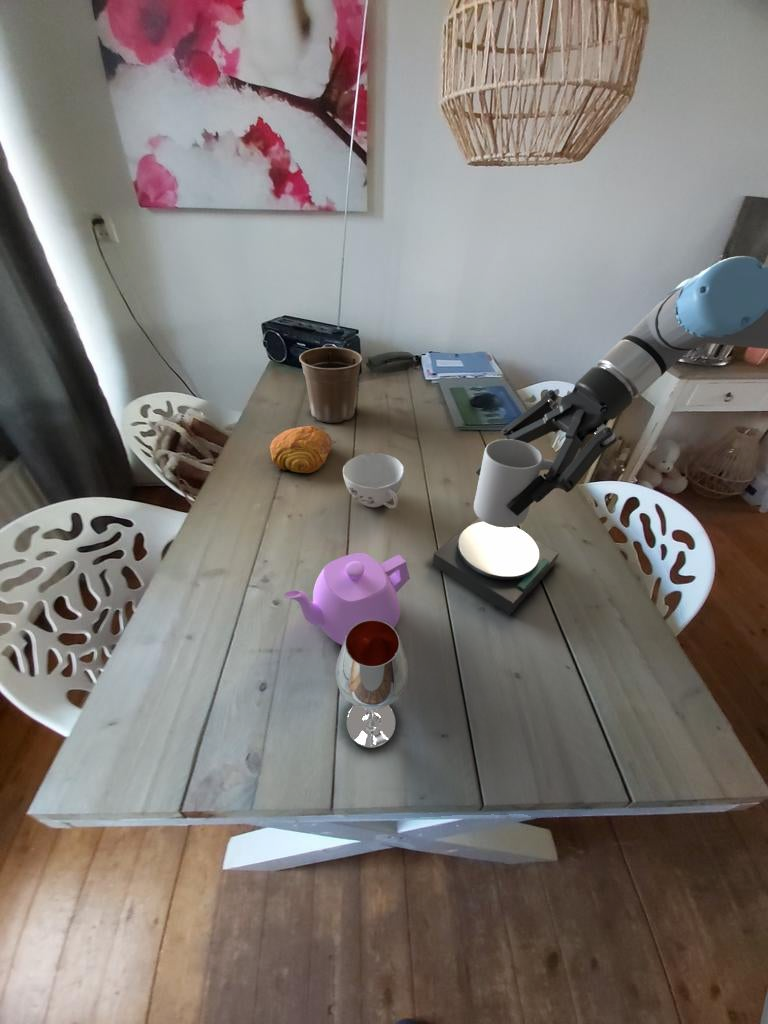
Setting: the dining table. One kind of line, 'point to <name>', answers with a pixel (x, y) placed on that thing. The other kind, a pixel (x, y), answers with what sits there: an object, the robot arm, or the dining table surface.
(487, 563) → the scale pan
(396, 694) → the wineglass
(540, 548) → the scale
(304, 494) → the dining table surface
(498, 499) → the mug
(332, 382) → the plant pot
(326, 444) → the croissant
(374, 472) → the teacup
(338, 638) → the teapot
